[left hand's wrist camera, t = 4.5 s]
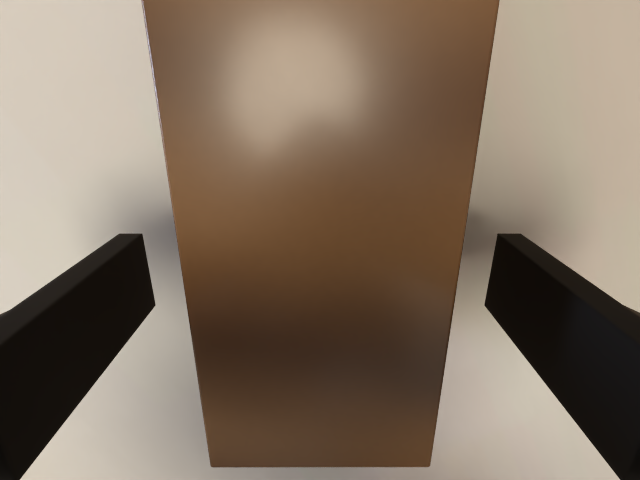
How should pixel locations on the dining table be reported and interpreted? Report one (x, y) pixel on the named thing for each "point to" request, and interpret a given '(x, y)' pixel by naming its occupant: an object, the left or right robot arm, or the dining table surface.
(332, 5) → the brown wooden brick
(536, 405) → the dining table surface
